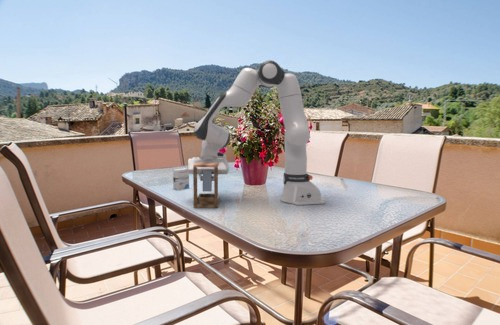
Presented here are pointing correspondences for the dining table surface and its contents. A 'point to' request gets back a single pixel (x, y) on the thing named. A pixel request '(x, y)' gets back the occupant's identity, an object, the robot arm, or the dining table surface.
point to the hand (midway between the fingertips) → (207, 180)
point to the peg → (207, 180)
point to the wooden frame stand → (206, 199)
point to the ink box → (180, 179)
